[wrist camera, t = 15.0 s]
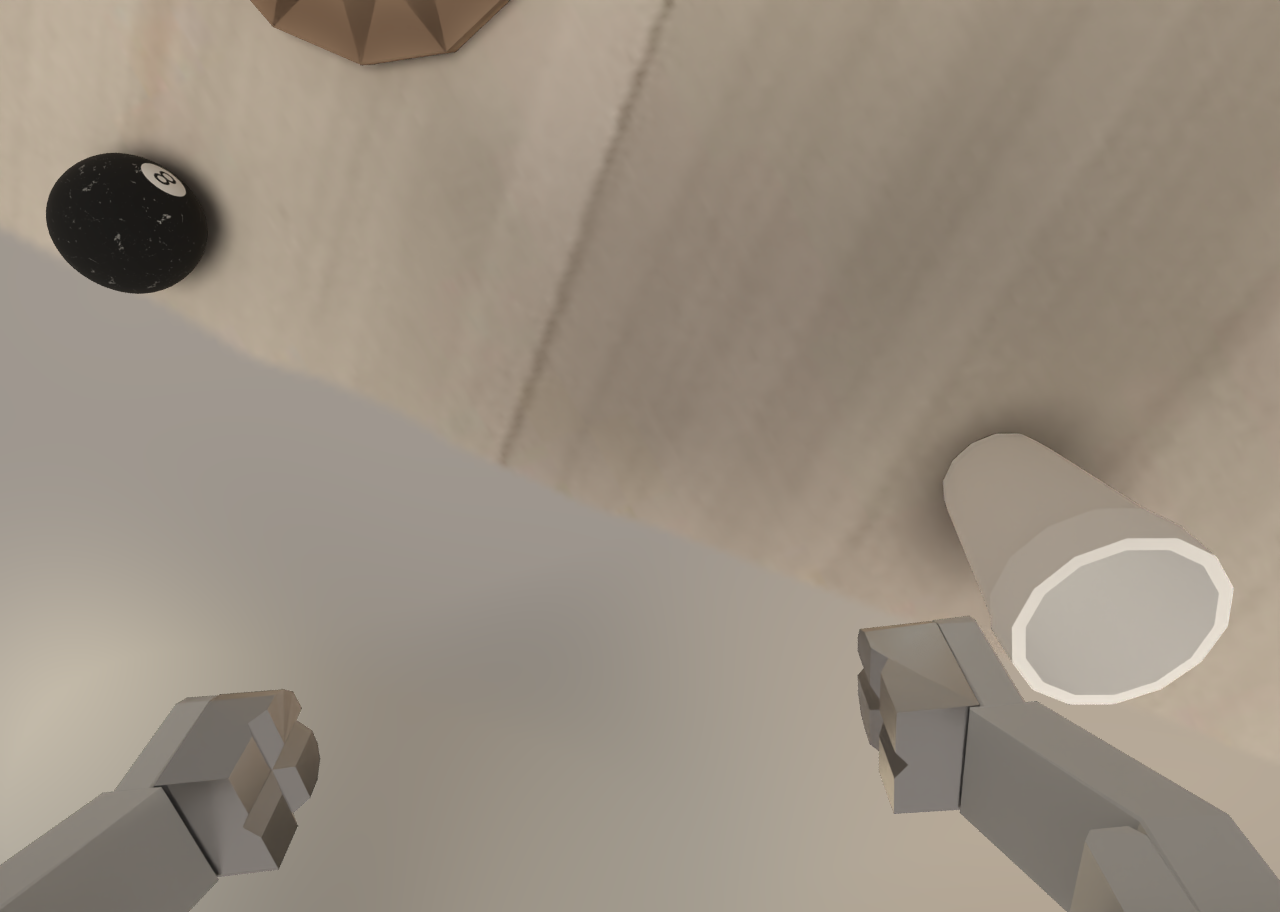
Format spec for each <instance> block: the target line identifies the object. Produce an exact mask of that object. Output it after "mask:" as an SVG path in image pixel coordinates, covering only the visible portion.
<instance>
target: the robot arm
mask: <svg viewBox="0 0 1280 912" xmlns="http://www.w3.org/2000/svg"><path fill="white" fill-rule="evenodd" d="M858 653H859V656H860V659H861V661H862V665H863V667H864V668H863V670H862V671H861V672H860V673H859V675H858V696H859V703H860V710H861V716H862V720H863V724H864V728H865V731H866V734H867V737H868V740H869V743H870V745H872V746H873V747H874V748H876V749H877V750H878V751H879V773H880V776H881V779H882V782H883V785H884V787H885V790H886V793H887V796H888V799H889V802H890V805H891V808H892V810H893V813H894V814H897V813H898V814H899V813H914V812H930V811H946V810H960V813H961V814H962V815H963V816H964V817H965V818H966V819H967V820H968V821H969V822H970V823H971V824H972V825H974V826H975V827H976V828H977V829H978V830H979V831H980V832H981V833H982V834H983V835H984V836H985V837H987V838H988V839H989V840H990V841H991V842H992V843H993V844H994V845H995V846H996V847H997V848H999V849H1000V850H1001V851H1002V852H1003V853H1004V854H1005V855H1006V856H1007V857H1008V858H1009V859H1010V860H1012V861H1013V862H1014V863H1015V864H1016V865H1017V866H1018V867H1019V868H1020V869H1021V870H1022V871H1023V872H1025V873H1026V874H1027V875H1028V876H1029V877H1030V878H1031V879H1032V880H1033V881H1034V882H1035V883H1036V884H1038V885H1039V886H1040V887H1041V888H1042V889H1043V890H1044V891H1045V892H1046V893H1047V894H1048V895H1049V896H1051V897H1052V898H1053V899H1054V900H1055V901H1056V902H1057V903H1058V904H1059V905H1060V906H1061V907H1062V908H1063V909H1065V910H1066V911H1067V912H1280V880H1279V879H1278V878H1277V876H1276V875H1275V874H1274V873H1273V871H1272V870H1271V869H1270V867H1269V866H1268V865H1267V864H1266V862H1265V861H1264V860H1263V858H1262V857H1261V856H1260V855H1259V853H1258V852H1257V851H1256V849H1255V848H1254V847H1253V846H1252V844H1251V843H1250V842H1249V840H1248V839H1247V838H1246V836H1245V835H1244V834H1243V832H1242V831H1241V830H1240V829H1239V827H1238V826H1237V825H1236V824H1235V822H1234V821H1233V820H1232V818H1231V817H1230V816H1229V815H1228V814H1227V813H1225V812H1223V811H1221V810H1220V809H1218V808H1216V807H1215V806H1213V805H1211V804H1210V803H1208V802H1206V801H1205V800H1203V799H1201V798H1200V797H1198V796H1196V795H1194V794H1193V793H1191V792H1189V791H1188V790H1186V789H1184V788H1182V787H1181V786H1179V785H1177V784H1176V783H1174V782H1172V781H1171V780H1169V779H1167V778H1166V777H1164V776H1162V775H1161V774H1159V773H1157V772H1155V771H1154V770H1152V769H1150V768H1149V767H1147V766H1145V765H1144V764H1142V763H1140V762H1139V761H1137V760H1135V759H1134V758H1132V757H1130V756H1129V755H1127V754H1125V753H1123V752H1122V751H1120V750H1118V749H1116V748H1115V747H1113V746H1111V745H1110V744H1108V743H1107V742H1105V741H1103V740H1102V739H1100V738H1098V737H1096V736H1095V735H1093V734H1091V733H1090V732H1088V731H1086V730H1085V729H1083V728H1081V727H1080V726H1078V725H1076V724H1074V723H1073V722H1071V721H1069V720H1068V719H1066V718H1064V717H1063V716H1061V715H1059V714H1058V713H1056V712H1054V711H1053V710H1051V709H1049V708H1047V707H1046V706H1044V705H1042V704H1040V703H1039V702H1037V701H1034V702H1025V701H1024V699H1023V697H1022V696H1021V694H1020V693H1019V691H1018V689H1017V688H1016V686H1015V684H1014V683H1013V681H1012V679H1011V678H1010V676H1009V674H1008V673H1007V671H1006V669H1005V668H1004V666H1003V665H1002V663H1001V661H1000V660H999V658H998V656H997V655H996V653H995V651H994V650H993V648H992V646H991V645H990V643H989V642H988V640H987V638H986V637H985V635H984V633H983V632H982V630H981V628H980V627H979V625H978V623H977V622H976V620H975V619H973V618H972V617H970V616H963V617H955V618H947V619H939V620H933V621H932V622H931V621H926V622H917V623H909V624H900V625H891V626H883V627H873V628H864V629H860V630H859V634H858ZM301 709H302V707H301V705H300V704H299V702H298V700H297V698H296V696H295V694H294V692H293V691H289V690H285V689H281V690H268V691H255V692H244V693H230V694H220V695H217V696H202V697H188V698H185V699H184V700H182V701H180V702H179V703H177V704H176V705H175V706H174V707H173V709H172V710H171V711H170V713H169V714H168V716H167V717H166V719H165V720H164V721H163V723H162V724H161V726H160V727H159V728H158V730H157V731H156V733H155V734H154V736H153V737H152V738H151V740H150V741H149V743H148V744H147V745H146V747H145V748H144V749H143V751H142V753H141V754H140V755H139V757H138V758H137V759H136V761H135V762H134V764H133V765H132V766H131V768H130V769H129V771H128V772H127V773H126V775H125V776H124V778H123V779H122V780H121V782H120V783H119V785H118V786H117V787H116V789H115V790H114V792H105V793H102V794H100V795H99V796H98V797H96V798H95V799H93V800H92V801H90V802H89V803H87V804H86V805H85V806H83V807H82V808H80V809H79V810H77V811H76V812H75V813H73V814H72V815H70V816H69V817H68V818H66V819H65V820H63V821H62V822H60V823H59V824H58V825H56V826H55V827H53V828H52V829H51V830H49V831H48V832H46V833H45V834H44V835H42V836H41V837H39V838H38V839H36V840H35V841H34V842H32V843H31V844H29V845H28V846H26V847H25V848H24V849H22V850H21V851H19V852H18V853H16V854H15V855H14V856H12V857H11V858H9V859H8V860H7V861H5V862H4V863H2V864H1V865H0V912H189V911H190V910H191V909H192V908H193V907H194V906H195V905H196V903H198V901H199V900H200V899H201V898H202V897H203V896H204V895H205V894H206V893H207V892H208V891H209V890H210V889H211V888H212V887H213V886H214V885H215V884H216V883H217V881H218V877H221V876H230V875H238V874H246V873H255V872H263V871H271V870H278V869H279V868H280V865H281V863H282V861H283V859H284V856H285V854H286V852H287V850H288V847H289V845H290V843H291V840H292V838H293V836H294V834H295V831H296V829H297V827H298V825H297V822H296V819H295V816H294V812H295V811H296V810H297V809H298V808H299V807H300V806H302V805H303V804H304V803H305V802H306V801H307V800H308V799H309V798H310V797H311V795H312V792H313V789H314V787H315V785H316V782H317V780H318V772H319V764H320V755H319V748H318V743H317V741H316V738H315V736H314V733H313V731H312V730H311V729H309V728H308V727H306V726H305V725H303V724H302V723H300V722H299V721H297V718H298V716H299V714H300V712H301Z"/></svg>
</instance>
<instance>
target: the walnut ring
mask: <svg viewBox="0 0 1280 912" xmlns="http://www.w3.org/2000/svg"><path fill="white" fill-rule="evenodd" d="M250 1H251V2H252V3H253V4H254V5H255V6H256V8H257V9H258V10H259V11H260V12H261V13H262V15H263V16H264V17H265V18H266V19H267V20H268V21H269V23H270V24H271V25H272V26H273V27H275V28H277V29H279V30H282V31H284V32H286V33H289V34H291V35H293V36H296V37H298V38H300V39H303V40H305V41H307V42H310V43H312V44H314V45H316V46H319V47H321V48H323V49H326V50H328V51H330V52H333V53H335V54H337V55H340V56H342V57H344V58H347V59H349V60H351V61H353V62H356V63H358V64H360V65H371V64H379V63H385V62H392V61H398V60H405V59H412V58H418V57H425V56H431V55H438V54H445V53H451V52H456V51H457V50H458V49H459V48H460V47H461V46H462V45H463V44H464V43H465V42H467V41H468V40H469V39H470V38H471V37H472V36H473V35H474V34H475V33H476V32H477V31H478V30H479V29H480V28H481V27H482V26H483V25H484V24H486V23H487V22H488V21H489V20H490V19H491V18H492V17H493V16H494V15H495V14H496V13H497V12H498V11H499V10H500V9H501V8H502V7H503V6H505V5H506V4H507V3H508V2H509V1H510V0H250Z"/></svg>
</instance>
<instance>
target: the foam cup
mask: <svg viewBox="0 0 1280 912" xmlns="http://www.w3.org/2000/svg"><path fill="white" fill-rule="evenodd" d="M943 490H944V502H945V503H946V508H947V510H948V513H949V515H950V518H951V520H952V523H953V525H954V527H955V530H956V532H957V535H958V537H959V540H960V542H961V545H962V547H963V550H964V552H965V554H966V557H967V559H968V562H969V564H970V567H971V569H972V572H973V574H974V576H975V579H976V581H977V584H978V586H979V589H980V591H981V594H982V596H983V599H984V601H985V603H986V606H987V608H988V611H989V613H990V616H991V629H992V631H993V632H994V634H995V636H996V637H997V639H998V641H999V642H1000V644H1001V645H1002V647H1003V649H1004V650H1005V652H1006V654H1007V655H1008V657H1009V658H1010V660H1011V662H1012V663H1013V664H1014V666H1015V667H1016V668H1017V670H1018V671H1019V672H1020V674H1021V675H1022V676H1023V678H1024V679H1025V680H1026V682H1027V683H1028V684H1029V686H1030V687H1031V688H1032V689H1033V690H1034V691H1037V692H1039V693H1042V694H1044V695H1047V696H1049V697H1052V698H1054V699H1057V700H1059V701H1062V702H1064V703H1067V704H1116V703H1120V702H1123V701H1126V700H1129V699H1132V698H1135V697H1138V696H1142V695H1145V694H1148V693H1151V692H1154V691H1157V690H1160V689H1162V688H1164V687H1165V686H1167V685H1168V684H1170V683H1171V682H1173V681H1174V680H1175V679H1177V678H1178V677H1180V676H1181V675H1183V674H1184V673H1186V672H1187V671H1189V670H1190V669H1192V668H1193V667H1195V666H1196V665H1198V664H1199V663H1201V662H1202V660H1203V659H1204V658H1205V656H1206V655H1207V654H1208V652H1209V651H1210V650H1211V648H1212V647H1213V646H1214V644H1215V643H1216V641H1217V640H1218V639H1219V637H1220V636H1221V635H1222V633H1223V632H1224V631H1225V629H1226V628H1227V627H1228V622H1229V616H1230V609H1231V603H1232V597H1233V590H1234V588H1233V586H1232V584H1231V582H1230V580H1229V578H1228V577H1227V575H1226V573H1225V571H1224V569H1223V568H1222V566H1221V564H1220V562H1219V560H1218V558H1217V557H1216V556H1215V555H1214V554H1213V553H1212V552H1211V551H1210V550H1208V549H1207V548H1206V547H1205V546H1204V545H1203V544H1202V543H1200V542H1199V541H1198V540H1197V539H1196V538H1195V537H1193V536H1192V535H1191V534H1190V533H1189V532H1188V531H1187V530H1185V529H1184V528H1183V527H1182V526H1180V525H1178V524H1176V523H1174V522H1172V521H1170V520H1168V519H1166V518H1164V517H1162V516H1159V515H1157V514H1155V513H1153V512H1151V511H1149V510H1147V509H1145V508H1143V507H1142V506H1140V505H1139V504H1137V503H1136V502H1134V501H1132V500H1131V499H1129V498H1128V497H1126V496H1124V495H1123V494H1121V493H1120V492H1118V491H1116V490H1115V489H1113V488H1112V487H1110V486H1109V485H1107V484H1105V483H1104V482H1102V481H1101V480H1099V479H1097V478H1096V477H1094V476H1093V475H1091V474H1089V473H1088V472H1086V471H1085V470H1083V469H1082V468H1080V467H1078V466H1077V465H1075V464H1074V463H1072V462H1070V461H1069V460H1067V459H1066V458H1064V457H1062V456H1061V455H1059V454H1058V453H1056V452H1055V451H1053V450H1051V449H1050V448H1048V447H1046V446H1044V445H1042V444H1041V443H1039V442H1037V441H1035V440H1033V439H1031V438H1029V437H1027V436H1025V435H1023V434H1021V433H1011V434H994V435H991V436H989V437H986V438H984V439H981V440H979V441H976V442H974V443H971V444H970V445H969V446H968V447H967V448H966V449H965V450H964V451H962V452H961V453H960V454H959V455H958V456H957V457H956V458H955V459H954V460H953V461H952V463H951V465H950V467H949V469H948V471H947V474H946V476H945V478H944V480H943Z"/></svg>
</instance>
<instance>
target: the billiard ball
mask: <svg viewBox="0 0 1280 912" xmlns="http://www.w3.org/2000/svg"><path fill="white" fill-rule="evenodd" d="M46 221H47V227H48V230H49V234H50V236H51V239H52V241H53V243H54V244H55V246H56V248H57V249H58V251H59V252H60V254H61V255H62V256H63V258H64V259H65V260H66V261H67V262H68V263H69V264H70V265H71V266H72V267H73V268H74V269H76V270H77V271H78V272H80V273H81V274H82V275H83V276H85V277H87V278H88V279H90V280H91V281H93V282H95V283H97V284H100V285H102V286H104V287H107V288H110V289H113V290H116V291H120V292H126V293H136V294H141V293H152V292H156V291H160V290H163V289H166V288H168V287H171V286H173V285H174V284H176V283H178V282H179V281H181V280H182V279H184V278H185V277H186V276H187V275H188V274H189V273H190V272H191V271H192V270H193V269H194V268H195V266H196V265H197V264H198V262H199V261H200V259H201V257H202V255H203V252H204V250H205V246H206V242H207V223H206V218H205V215H204V212H203V210H202V207H201V205H200V204H199V202H198V200H197V198H196V197H195V196H194V194H193V193H192V192H191V190H190V189H189V188H188V187H187V186H186V185H185V184H184V183H183V182H182V181H181V180H180V179H179V178H178V177H177V176H175V175H174V174H173V173H171V172H170V171H168V170H167V169H165V168H163V167H162V166H160V165H158V164H156V163H154V162H152V161H149V160H147V159H144V158H141V157H138V156H134V155H129V154H122V153H106V154H100V155H96V156H92V157H89V158H87V159H84V160H82V161H80V162H78V163H77V164H75V165H73V166H72V167H71V168H69V169H68V170H67V171H66V172H65V173H64V174H63V175H62V176H61V177H60V178H59V179H58V180H57V182H56V183H55V185H54V187H53V188H52V190H51V192H50V195H49V198H48V202H47V207H46Z"/></svg>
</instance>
